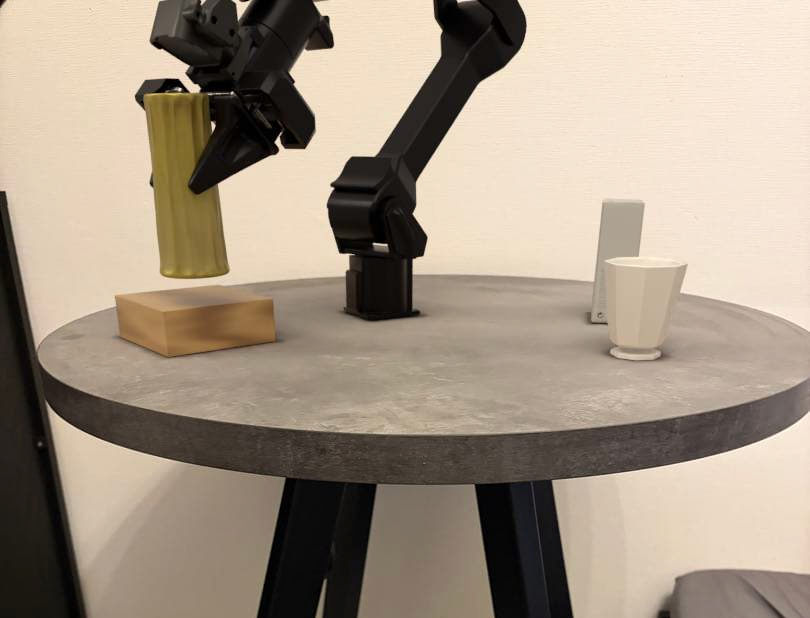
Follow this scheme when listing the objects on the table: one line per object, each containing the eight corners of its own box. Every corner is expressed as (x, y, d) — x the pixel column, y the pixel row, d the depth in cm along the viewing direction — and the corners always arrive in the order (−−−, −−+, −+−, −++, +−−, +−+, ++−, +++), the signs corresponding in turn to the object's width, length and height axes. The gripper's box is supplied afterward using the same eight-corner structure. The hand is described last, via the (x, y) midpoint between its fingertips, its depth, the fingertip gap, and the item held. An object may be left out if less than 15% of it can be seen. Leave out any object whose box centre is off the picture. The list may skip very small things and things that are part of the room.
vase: (201, 267, 81) (184, 96, 75) (244, 273, 78) (229, 93, 71) (146, 275, 77) (122, 94, 71) (188, 281, 73) (167, 92, 67)
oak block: (221, 323, 91) (218, 284, 89) (275, 341, 83) (273, 298, 81) (120, 337, 84) (114, 295, 83) (167, 357, 77) (162, 311, 75)
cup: (594, 361, 76) (603, 265, 72) (596, 338, 84) (605, 251, 81) (677, 366, 74) (691, 268, 71) (671, 342, 83) (683, 253, 80)
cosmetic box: (631, 325, 91) (645, 202, 85) (590, 323, 91) (601, 201, 86) (630, 314, 96) (642, 198, 91) (590, 313, 97) (601, 198, 92)
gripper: (139, -25, 75) (42, 116, 73) (278, -54, 64) (169, 112, 61) (221, 80, 84) (137, 209, 81) (357, 71, 73) (265, 221, 70)
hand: (172, 189), depth 73 cm, fingers closed on vase, 5 cm apart
